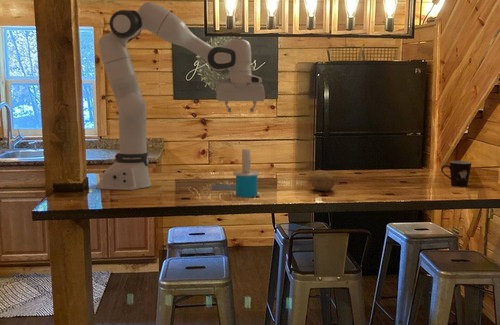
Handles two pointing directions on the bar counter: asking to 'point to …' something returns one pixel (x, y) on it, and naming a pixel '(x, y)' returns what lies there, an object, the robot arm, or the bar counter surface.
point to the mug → (246, 186)
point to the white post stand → (246, 165)
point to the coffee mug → (459, 173)
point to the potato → (322, 180)
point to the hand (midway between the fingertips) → (240, 112)
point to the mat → (223, 187)
